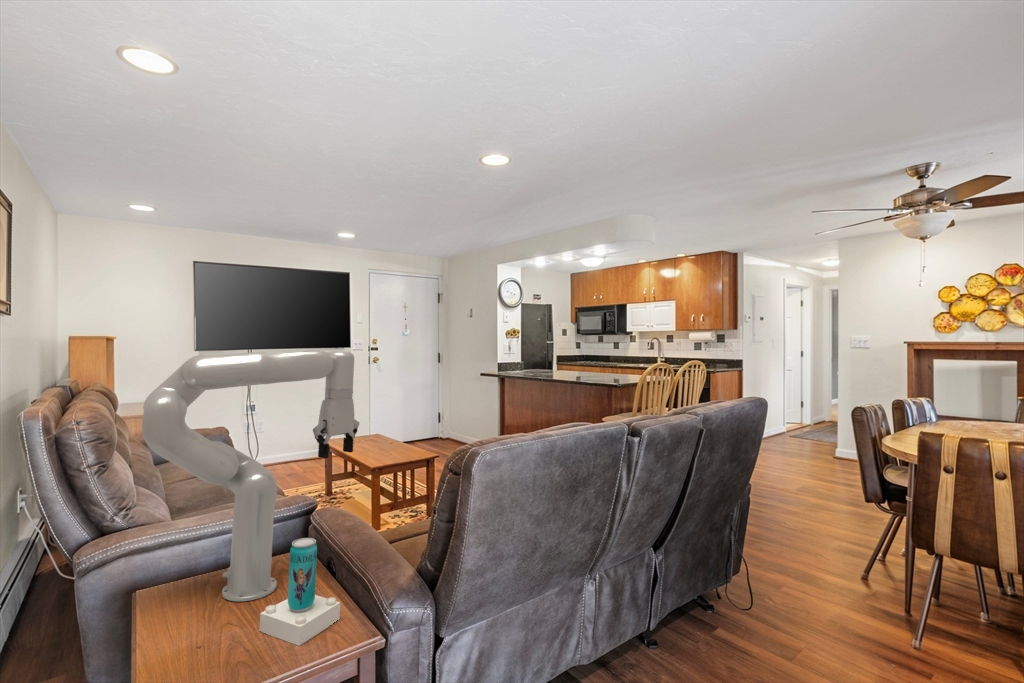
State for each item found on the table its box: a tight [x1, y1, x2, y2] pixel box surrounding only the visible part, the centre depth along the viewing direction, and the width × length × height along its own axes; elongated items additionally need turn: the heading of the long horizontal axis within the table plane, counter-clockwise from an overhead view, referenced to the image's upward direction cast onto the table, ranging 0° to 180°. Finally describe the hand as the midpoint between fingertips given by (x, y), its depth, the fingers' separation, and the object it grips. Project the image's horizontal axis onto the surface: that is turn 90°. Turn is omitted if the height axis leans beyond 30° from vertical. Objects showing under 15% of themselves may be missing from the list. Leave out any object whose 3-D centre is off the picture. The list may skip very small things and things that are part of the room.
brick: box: [258, 594, 341, 647], centre depth 116 cm, size 12×12×5 cm
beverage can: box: [287, 537, 318, 612], centre depth 116 cm, size 6×6×15 cm
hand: (335, 454), depth 144 cm, fingers open, 9 cm apart
